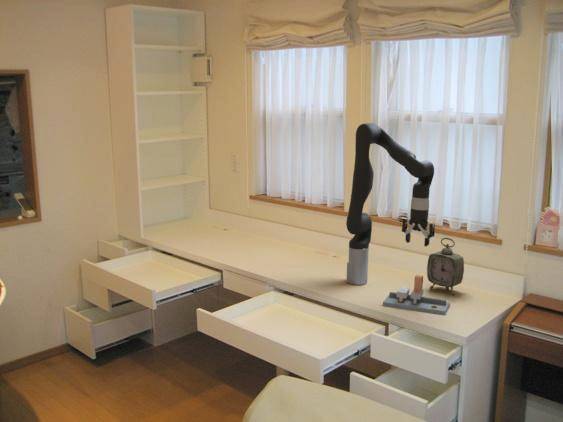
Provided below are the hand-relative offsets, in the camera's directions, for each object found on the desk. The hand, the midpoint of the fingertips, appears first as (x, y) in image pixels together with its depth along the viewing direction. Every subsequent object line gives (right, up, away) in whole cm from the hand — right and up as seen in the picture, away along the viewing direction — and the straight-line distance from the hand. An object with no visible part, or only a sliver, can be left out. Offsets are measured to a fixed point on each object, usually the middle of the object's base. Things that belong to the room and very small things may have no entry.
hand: (417, 244), depth 268 cm
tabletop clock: (+16, -22, +16) cm, 32 cm away
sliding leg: (-1, -24, -3) cm, 24 cm away
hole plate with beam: (-1, -26, -3) cm, 26 cm away
